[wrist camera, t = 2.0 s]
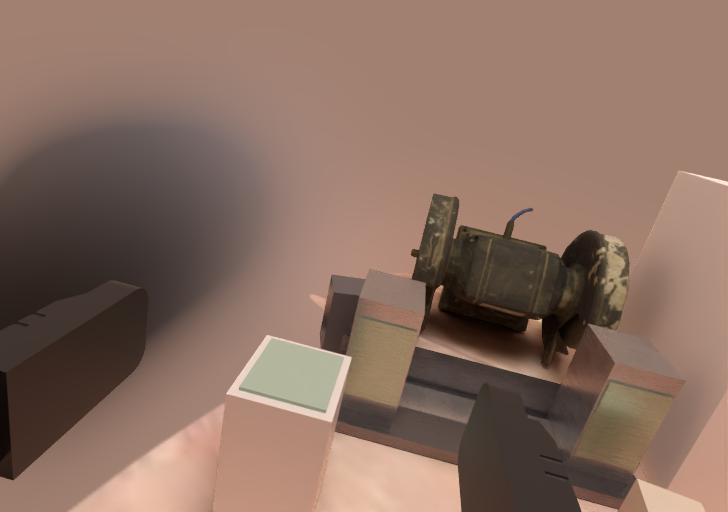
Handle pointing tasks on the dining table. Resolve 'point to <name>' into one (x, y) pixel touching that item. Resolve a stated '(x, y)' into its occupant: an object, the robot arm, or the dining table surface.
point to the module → (279, 428)
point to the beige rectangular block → (657, 500)
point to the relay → (339, 310)
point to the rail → (540, 397)
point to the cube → (688, 336)
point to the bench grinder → (522, 278)
